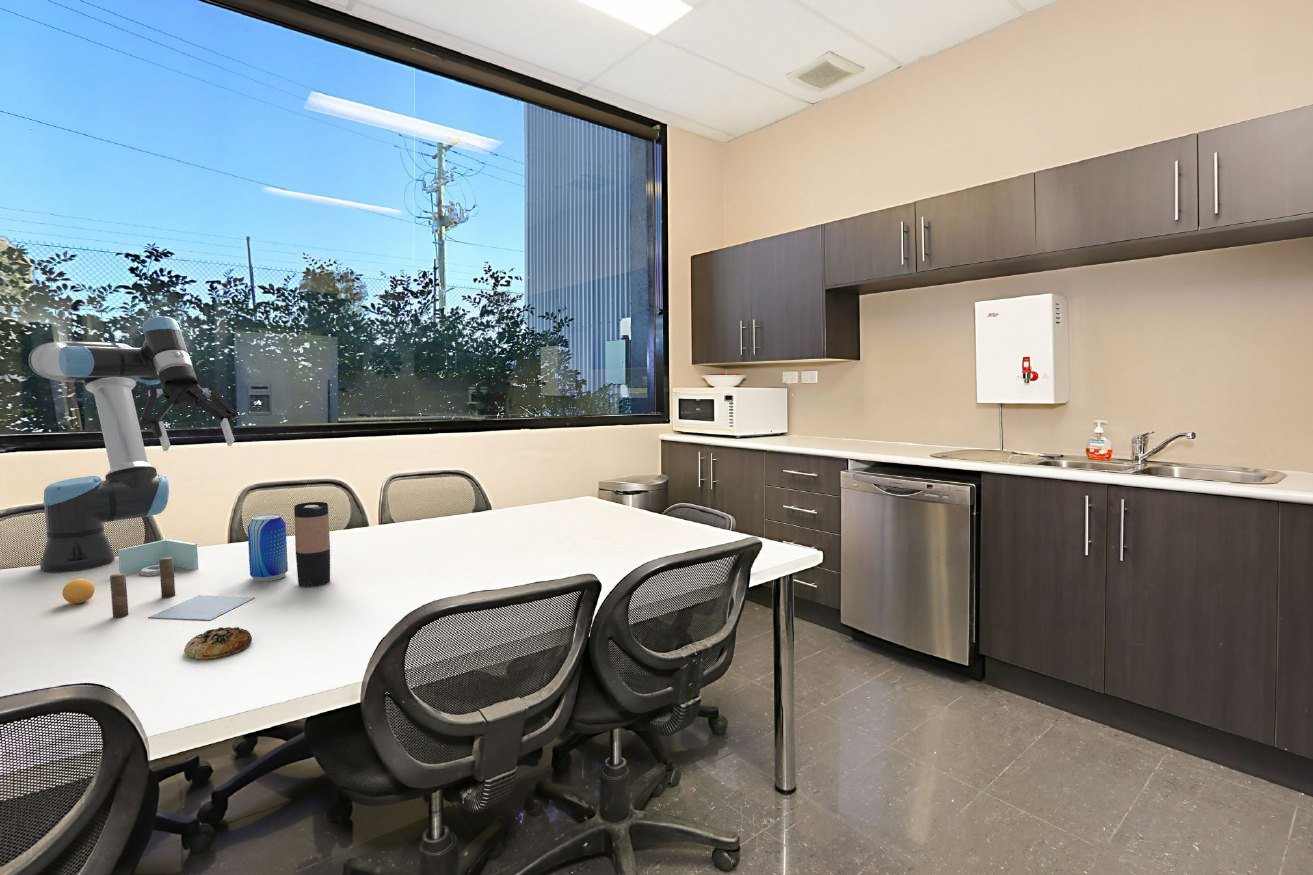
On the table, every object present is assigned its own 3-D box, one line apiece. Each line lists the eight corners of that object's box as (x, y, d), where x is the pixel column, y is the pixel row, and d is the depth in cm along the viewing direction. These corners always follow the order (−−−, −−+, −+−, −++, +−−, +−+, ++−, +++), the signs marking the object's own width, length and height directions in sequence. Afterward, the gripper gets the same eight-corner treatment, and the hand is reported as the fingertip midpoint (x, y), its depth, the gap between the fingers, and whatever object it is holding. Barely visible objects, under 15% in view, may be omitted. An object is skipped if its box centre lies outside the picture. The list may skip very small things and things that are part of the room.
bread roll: (264, 636, 130) (260, 614, 129) (231, 668, 120) (226, 644, 118) (208, 638, 130) (203, 616, 129) (170, 671, 119) (164, 646, 118)
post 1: (109, 617, 139) (106, 576, 138) (120, 613, 142) (117, 573, 141) (121, 617, 139) (118, 577, 138) (131, 613, 142) (128, 573, 141)
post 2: (158, 597, 152) (156, 560, 151) (167, 593, 154) (165, 556, 154) (169, 597, 152) (166, 560, 151) (178, 594, 154) (175, 557, 153)
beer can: (270, 583, 163) (267, 520, 161) (242, 581, 164) (238, 519, 163) (295, 573, 171) (292, 513, 169) (268, 571, 173) (265, 512, 171)
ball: (56, 606, 145) (54, 582, 145) (79, 598, 151) (78, 575, 150) (79, 607, 145) (77, 583, 144) (102, 599, 150) (100, 575, 150)
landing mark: (148, 617, 139) (148, 617, 139) (198, 595, 153) (198, 595, 153) (210, 620, 138) (210, 619, 138) (255, 598, 152) (255, 597, 152)
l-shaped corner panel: (120, 578, 168) (118, 549, 167) (169, 565, 179) (167, 539, 178) (149, 584, 163) (147, 555, 162) (198, 571, 174) (196, 543, 174)
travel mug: (305, 578, 167) (302, 501, 165) (336, 577, 168) (333, 501, 166) (291, 588, 159) (287, 508, 158) (323, 587, 160) (320, 507, 158)
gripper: (117, 363, 150) (141, 442, 145) (236, 364, 171) (260, 433, 166) (109, 381, 154) (133, 458, 149) (226, 380, 175) (250, 448, 170)
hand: (200, 445), depth 158 cm, fingers open, 13 cm apart
